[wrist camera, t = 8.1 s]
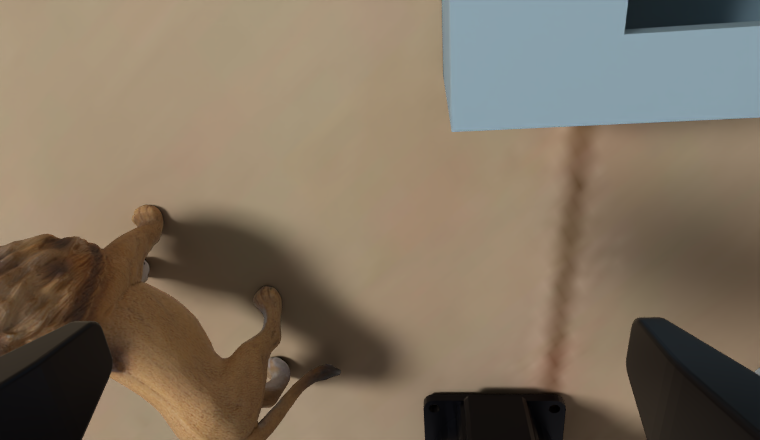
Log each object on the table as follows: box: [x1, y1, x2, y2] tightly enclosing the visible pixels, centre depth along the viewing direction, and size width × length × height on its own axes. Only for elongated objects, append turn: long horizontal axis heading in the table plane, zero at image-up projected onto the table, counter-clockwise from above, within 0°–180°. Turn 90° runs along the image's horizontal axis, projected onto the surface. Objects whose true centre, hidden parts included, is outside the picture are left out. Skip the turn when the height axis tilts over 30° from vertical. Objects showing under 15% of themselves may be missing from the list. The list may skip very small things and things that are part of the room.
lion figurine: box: [0, 205, 341, 440], centre depth 20 cm, size 15×5×9 cm, turn 57°
